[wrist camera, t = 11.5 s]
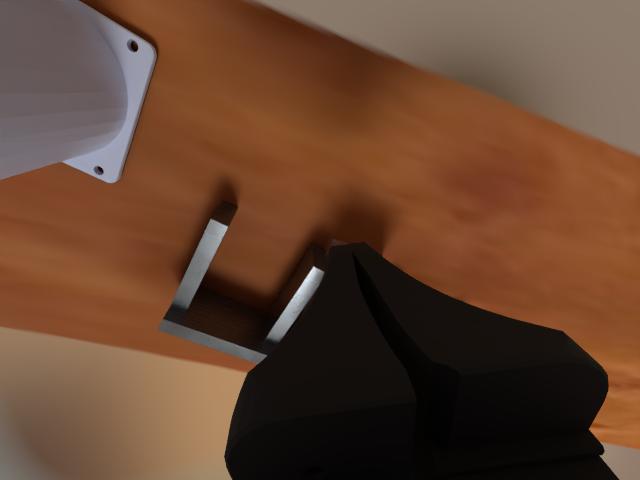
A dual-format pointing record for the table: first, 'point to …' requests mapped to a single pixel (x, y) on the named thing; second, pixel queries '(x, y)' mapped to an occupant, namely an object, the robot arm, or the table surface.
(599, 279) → the table surface
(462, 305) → the robot arm
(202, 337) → the rack
